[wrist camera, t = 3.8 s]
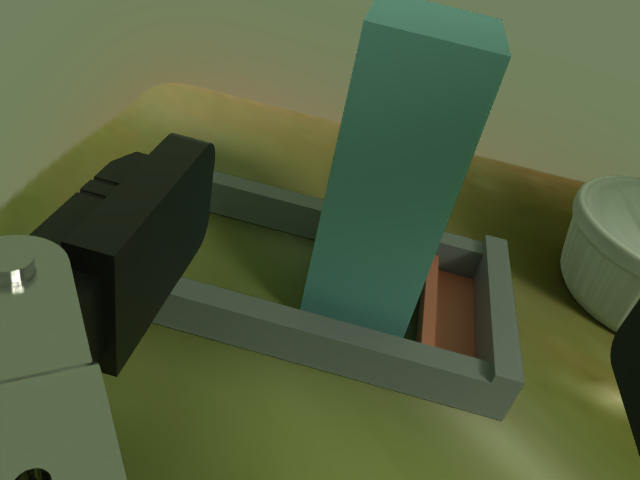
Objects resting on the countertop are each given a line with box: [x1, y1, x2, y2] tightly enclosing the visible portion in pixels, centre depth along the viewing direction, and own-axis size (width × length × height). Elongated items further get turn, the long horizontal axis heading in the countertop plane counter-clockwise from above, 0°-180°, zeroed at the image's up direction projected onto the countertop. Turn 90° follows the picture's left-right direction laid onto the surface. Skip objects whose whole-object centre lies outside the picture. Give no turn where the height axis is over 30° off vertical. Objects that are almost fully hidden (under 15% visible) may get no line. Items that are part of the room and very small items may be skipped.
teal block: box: [300, 0, 511, 338], centre depth 25 cm, size 5×5×14 cm
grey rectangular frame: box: [152, 171, 525, 421], centre depth 29 cm, size 19×10×2 cm, turn 79°
